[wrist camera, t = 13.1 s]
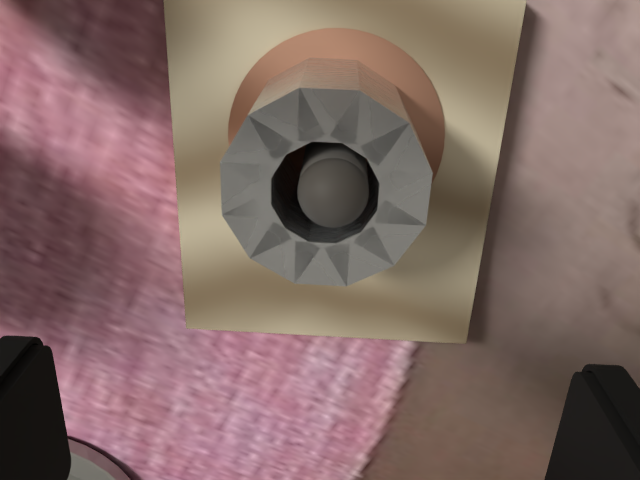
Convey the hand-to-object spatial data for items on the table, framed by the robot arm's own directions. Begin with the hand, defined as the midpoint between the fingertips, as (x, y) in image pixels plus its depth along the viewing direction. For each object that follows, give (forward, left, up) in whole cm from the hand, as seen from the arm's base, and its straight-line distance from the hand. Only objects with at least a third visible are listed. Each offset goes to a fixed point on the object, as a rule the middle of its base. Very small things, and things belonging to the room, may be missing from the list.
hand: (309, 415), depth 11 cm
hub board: (-2, 0, -18) cm, 18 cm away
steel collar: (0, 0, -16) cm, 16 cm away
